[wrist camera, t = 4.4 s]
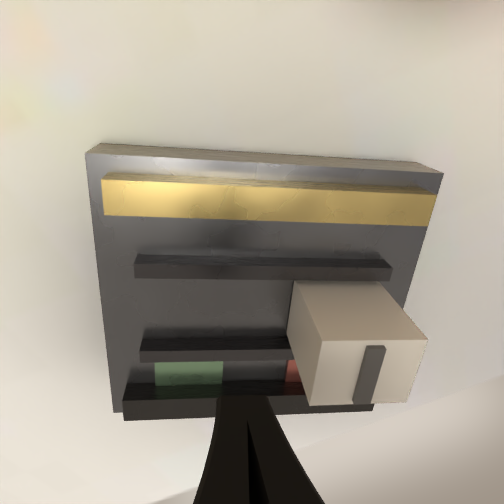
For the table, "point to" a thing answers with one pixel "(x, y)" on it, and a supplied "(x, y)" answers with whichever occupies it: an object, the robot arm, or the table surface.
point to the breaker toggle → (352, 343)
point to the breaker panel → (236, 264)
